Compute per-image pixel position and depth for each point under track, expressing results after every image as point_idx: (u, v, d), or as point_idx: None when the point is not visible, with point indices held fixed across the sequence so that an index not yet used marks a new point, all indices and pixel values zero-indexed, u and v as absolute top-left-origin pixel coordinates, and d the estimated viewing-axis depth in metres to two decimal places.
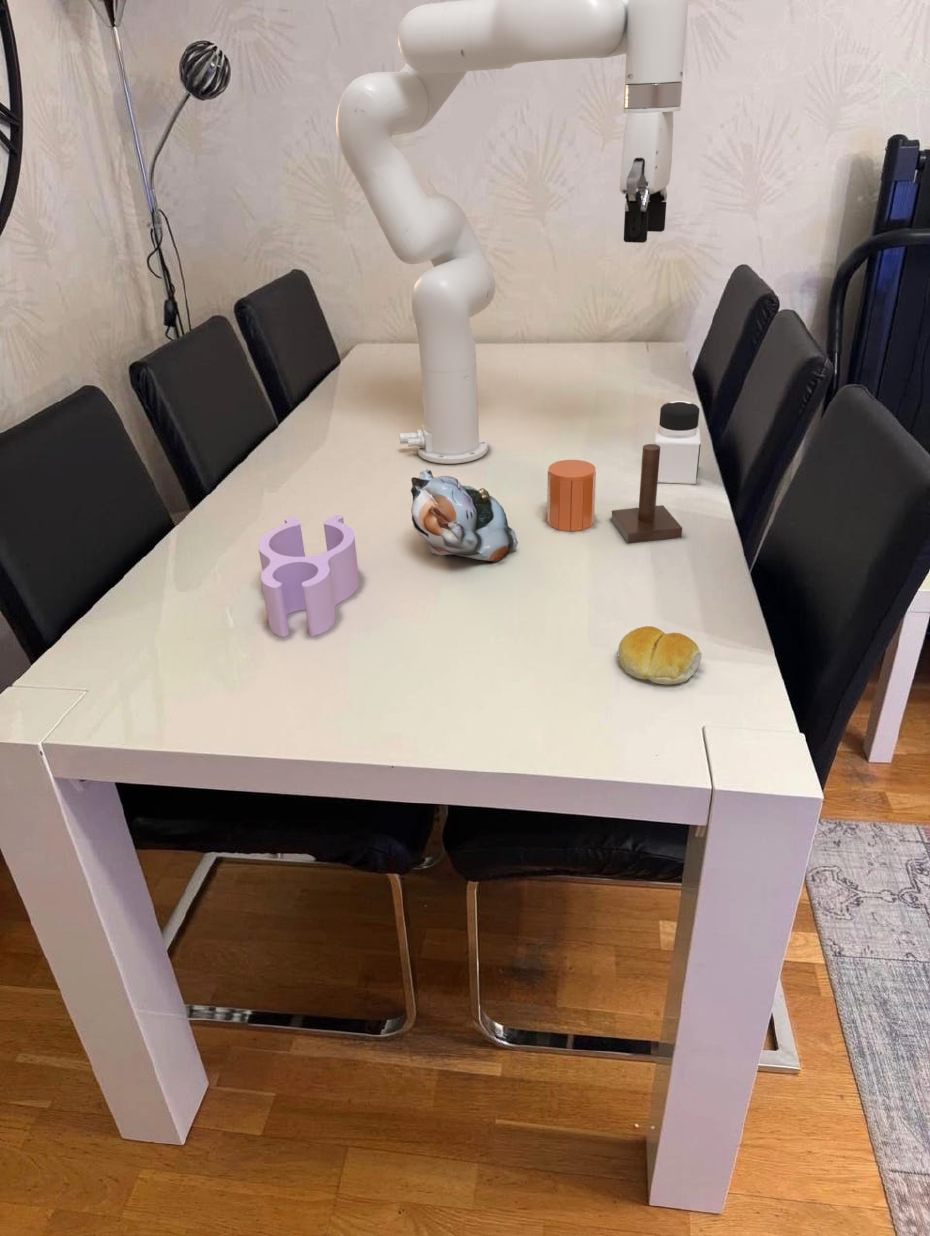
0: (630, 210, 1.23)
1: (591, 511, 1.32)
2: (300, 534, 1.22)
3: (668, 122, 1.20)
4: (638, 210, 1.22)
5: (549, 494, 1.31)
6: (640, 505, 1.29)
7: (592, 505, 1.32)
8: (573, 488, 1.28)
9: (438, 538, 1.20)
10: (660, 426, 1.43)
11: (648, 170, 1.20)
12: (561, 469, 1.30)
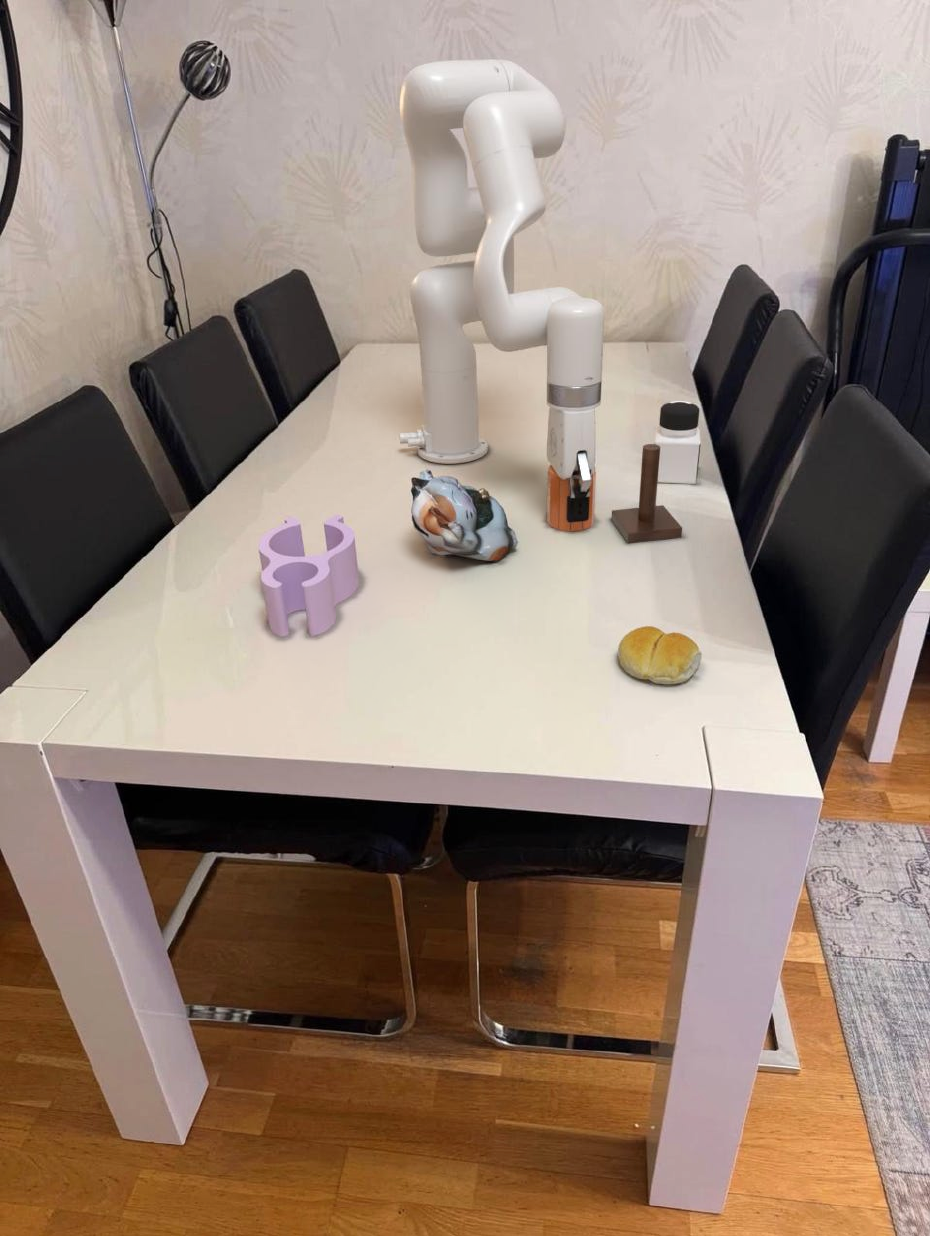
0: (576, 497, 1.27)
1: (591, 511, 1.32)
2: (300, 534, 1.22)
3: None
4: (584, 496, 1.27)
5: (549, 494, 1.31)
6: (640, 505, 1.29)
7: (592, 505, 1.32)
8: None
9: (438, 538, 1.20)
10: (660, 426, 1.43)
11: (591, 459, 1.25)
12: None
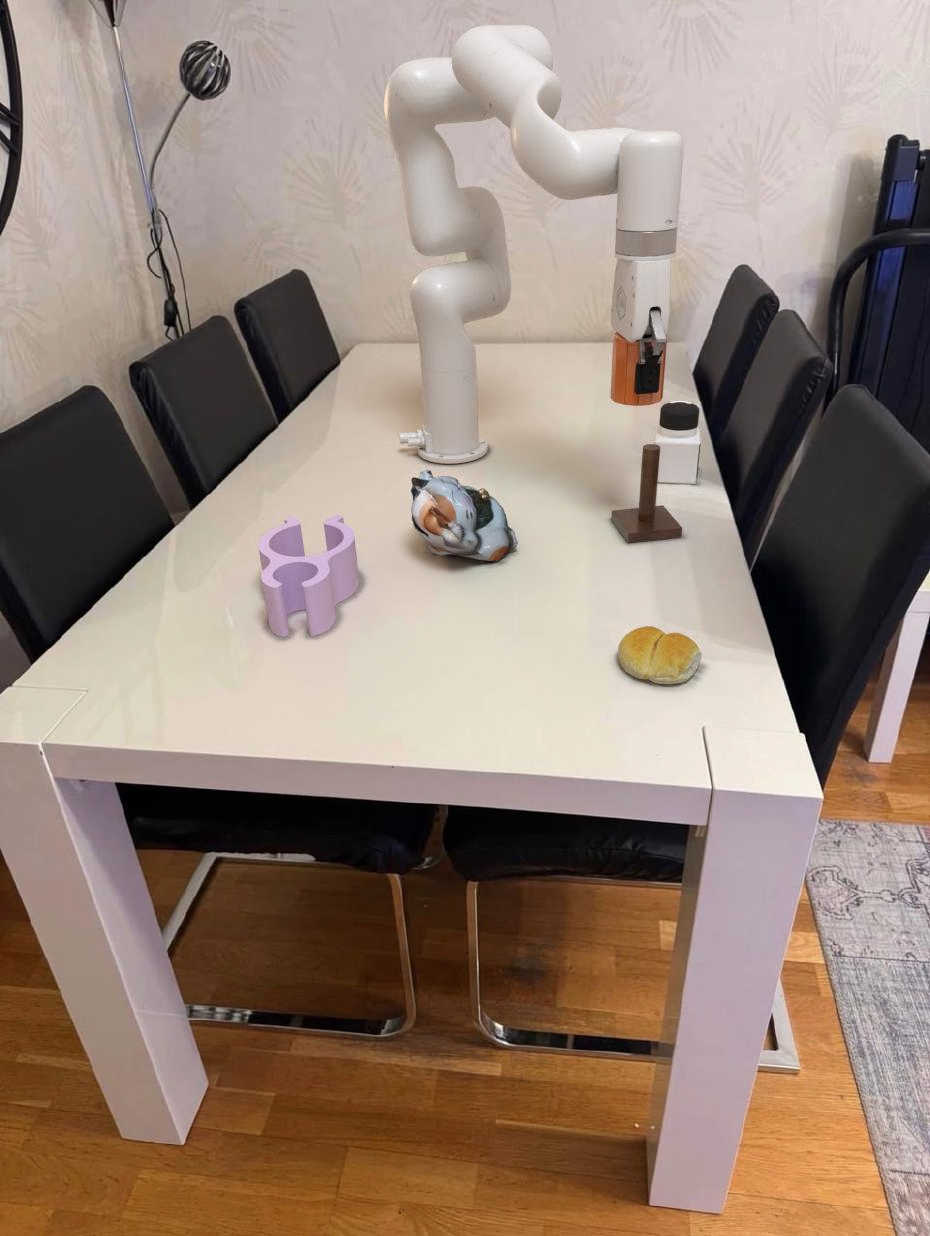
0: (647, 363, 1.15)
1: (661, 383, 1.19)
2: (300, 534, 1.22)
3: None
4: (655, 362, 1.15)
5: (614, 364, 1.19)
6: (640, 505, 1.29)
7: (662, 377, 1.19)
8: None
9: (438, 538, 1.20)
10: (660, 426, 1.43)
11: (664, 318, 1.12)
12: None
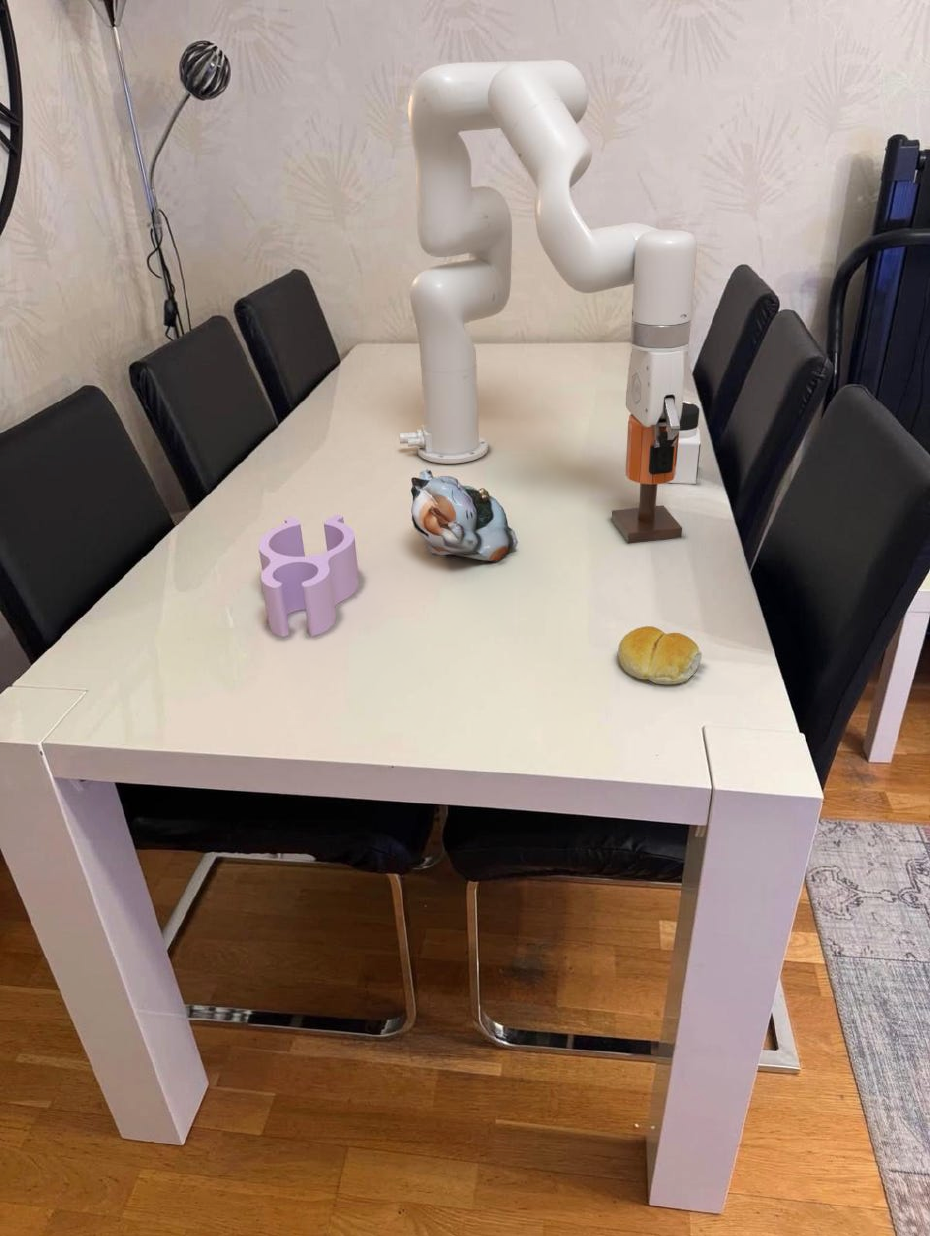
0: (661, 446, 1.20)
1: (674, 463, 1.24)
2: (300, 534, 1.22)
3: None
4: (669, 445, 1.20)
5: (629, 445, 1.24)
6: (640, 505, 1.29)
7: (675, 456, 1.24)
8: None
9: (438, 538, 1.20)
10: None
11: (678, 405, 1.17)
12: None
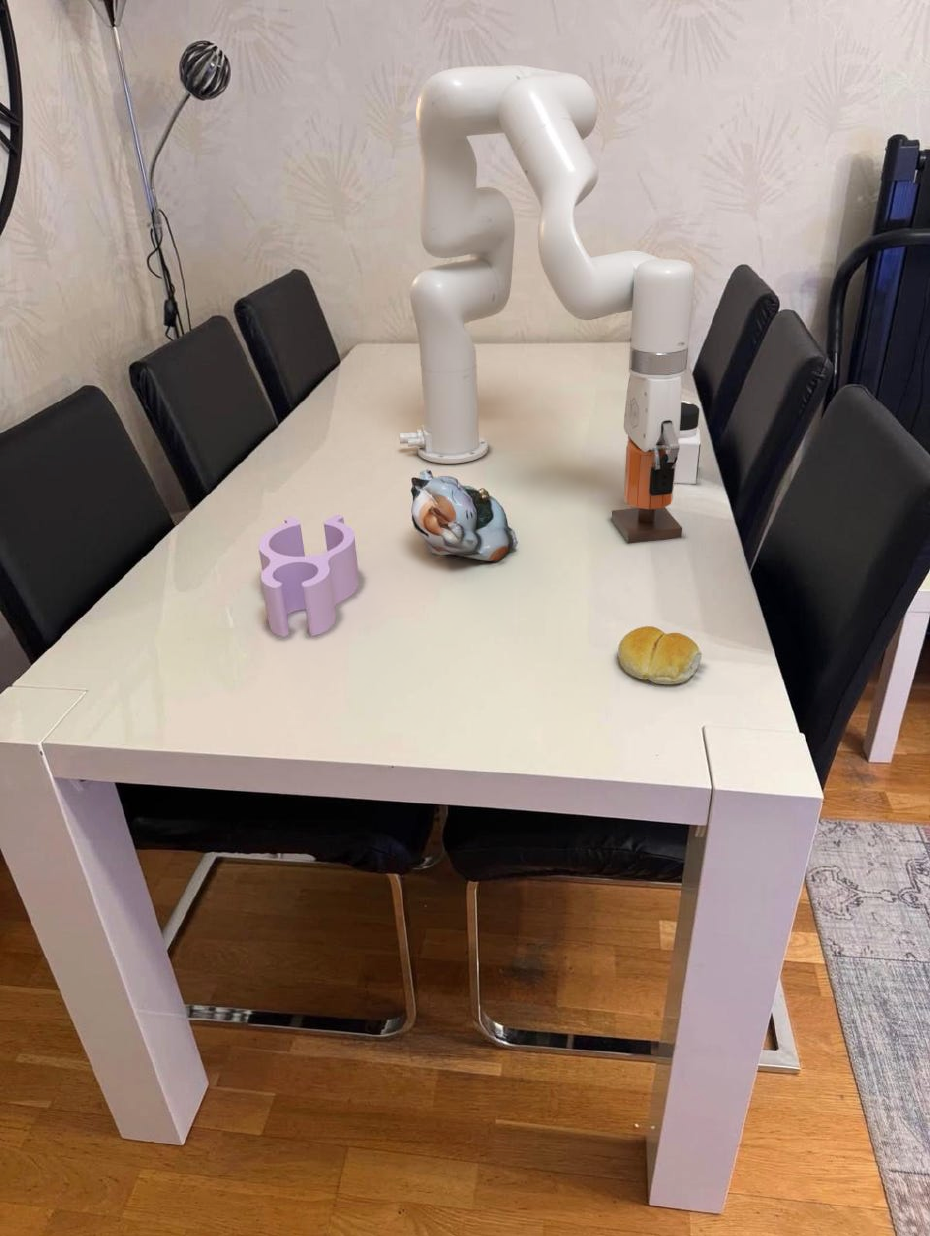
0: (661, 468, 1.20)
1: None
2: (300, 534, 1.22)
3: None
4: (669, 468, 1.21)
5: (628, 470, 1.26)
6: None
7: None
8: None
9: (438, 538, 1.20)
10: None
11: (675, 430, 1.19)
12: None
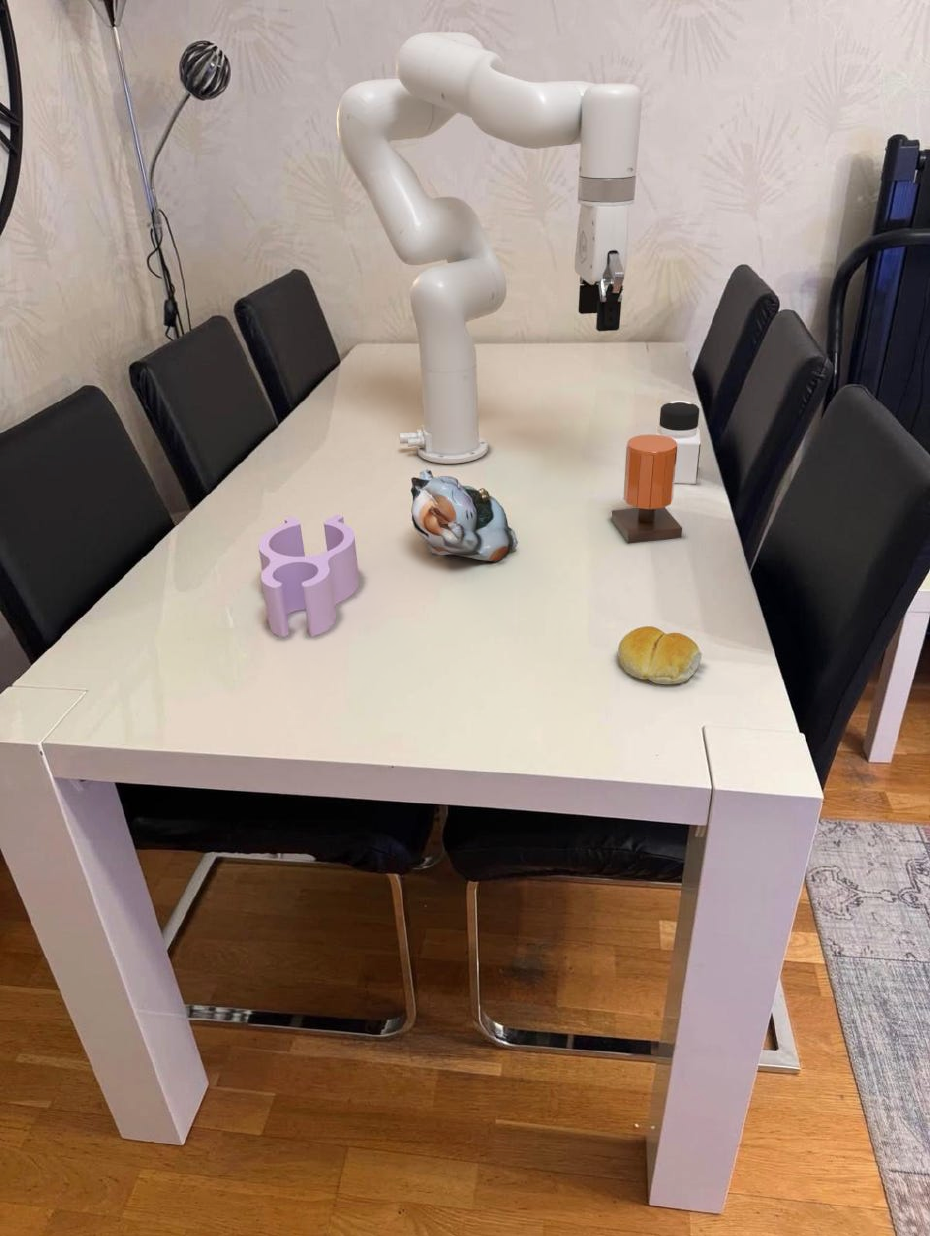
0: (607, 301, 1.22)
1: (671, 488, 1.26)
2: (300, 534, 1.22)
3: None
4: (615, 300, 1.22)
5: (628, 470, 1.26)
6: None
7: (672, 482, 1.26)
8: (655, 463, 1.23)
9: (438, 538, 1.20)
10: (660, 426, 1.43)
11: (622, 261, 1.20)
12: (641, 444, 1.24)
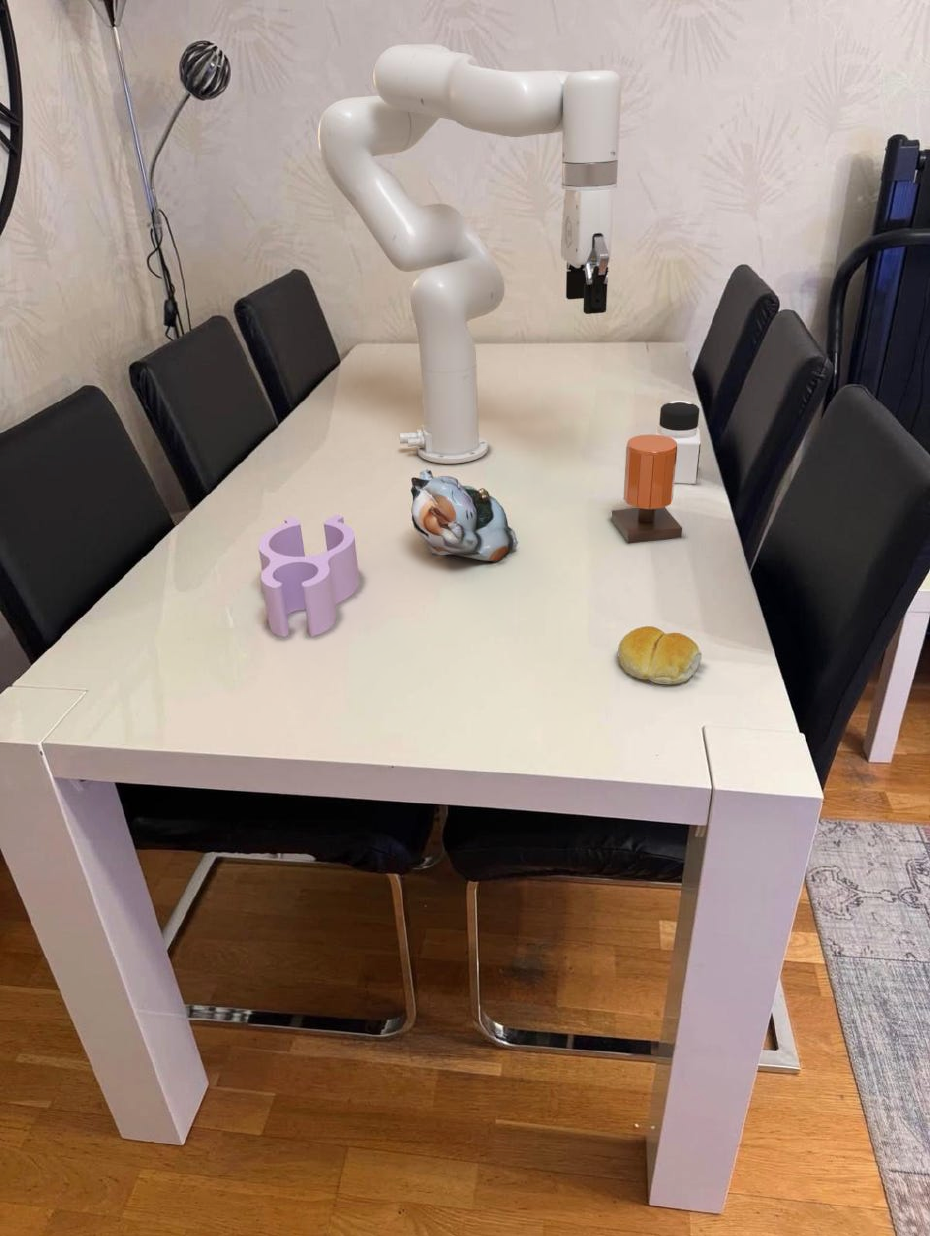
0: (594, 283, 1.24)
1: (671, 488, 1.26)
2: (300, 534, 1.22)
3: None
4: (601, 283, 1.24)
5: (628, 470, 1.26)
6: None
7: (672, 482, 1.26)
8: (655, 463, 1.23)
9: (438, 538, 1.20)
10: (660, 426, 1.43)
11: (606, 244, 1.23)
12: (641, 444, 1.24)
